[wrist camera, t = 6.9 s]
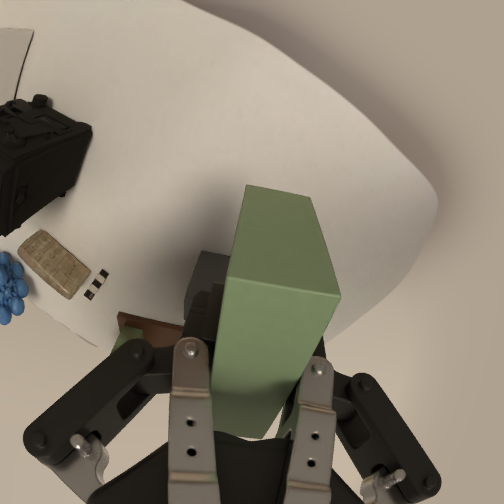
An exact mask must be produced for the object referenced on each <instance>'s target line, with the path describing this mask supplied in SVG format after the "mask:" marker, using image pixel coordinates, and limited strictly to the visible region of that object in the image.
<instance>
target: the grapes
mask: <svg viewBox="0 0 504 504" xmlns="http://www.w3.org/2000/svg"><path fill="white" fill-rule="evenodd" d="M22 275H23V268H22V266H21V265H20V264H19V263H18V262H13V263H11V264H10V257H9V255H8V254H6V253H5V252H2V253H0V324H2V325H7V324H8V323H9V322H10V321H11V318H12V314H11V312H12V313H13V314H14V315H16V316H19V315H21V314H22V313H23V312H24V308H25V307H24V301H23V299H22V298H24V297H26V296H27V294H28V284H27V282H26V281H25V280H24V279H21V277H22Z"/></svg>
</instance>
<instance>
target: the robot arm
mask: <svg viewBox="0 0 504 504" xmlns="http://www.w3.org/2000/svg"><path fill="white" fill-rule="evenodd" d="M224 287H225V284H224V283H219V282H213V285H212V288H211V292H208V291H203V290H200V291H199V292H198V293H197V294H196V295H195V296H194V298H193V301H192V304H191V307H190V310H189V313H188V317H187V320H186V323H185V326H184V330H183V333H182V336H181V338H180V340H178V341H177V342H176V343H175V344H173V345H171V346H167V347H152V345H151V344H150V343H149V342H148V341H146V340H143V339H138V338H136V339H130V340H128V341H126V342H125V343H124V344H122V345H121V346H120V347H119V348H118V349H116V350H115V351H114V352H113V353H112V354H111V355H110V356H108V357H107V358H106V359H105V360H104V361H102V362H101V363H100V364H99V365H98V366H97V367H95V368H94V369H93V370H92V371H91V372H90V373H89V374H87V375H86V376H85V377H84V378H83V379H82V380H81V381H79V382H78V383H77V384H76V385H75V386H73V387H72V388H71V389H70V390H69V391H68V392H67V393H66V394H64V395H63V396H62V397H61V398H60V399H58V400H57V401H56V402H55V403H54V404H53V405H52V406H50V407H49V408H48V409H47V410H46V411H45V412H44V413H43V414H41V415H40V416H39V417H38V418H37V419H36V420H35V421H33V422H32V423H31V424H30V425H29V426H28V427H27V428H26V430H25V431H24V434H23V442H24V446H25V448H26V449H27V451H28V452H29V453H30V454H31V455H33V456H34V457H35V458H37V459H38V460H39V461H40V462H41V463H42V464H44V465H45V466H47V467H48V468H50V469H51V470H52V471H53V472H54V473H55V474H56V475H57V476H58V477H59V478H60V479H61V480H62V481H63V482H64V483H65V484H66V485H67V486H68V487H69V488H70V489H71V490H72V491H73V492H74V493H75V494H76V495H77V496H78V497H79V498H80V499H82V500H83V501H84V502H85V503H86V504H415V503H418V502H420V501H423V500H426V499H428V498H430V497H433V496H434V495H436V494H437V493H438V491H439V490H440V488H441V477H440V474H439V473H438V471H437V470H436V468H435V467H434V465H433V463H432V462H431V460H430V459H429V458H428V456H427V454H426V453H425V451H424V450H423V448H422V447H421V445H420V444H419V443H418V441H417V439H416V438H415V436H414V435H413V433H412V432H411V430H410V429H409V427H408V426H407V424H406V423H405V422H404V420H403V419H402V417H401V416H400V414H399V413H398V411H397V410H396V408H395V407H394V406H393V404H392V403H391V401H390V400H389V398H388V397H387V395H386V394H385V392H384V391H383V390H382V388H381V387H380V385H379V384H378V383H377V381H376V380H375V379H374V378H373V377H372V376H371V375H369V374H366V373H357V374H355V375H354V376H353V377H349V376H346V375H343V374H341V373H338V372H336V371H335V370H334V369H333V366H332V364H331V363H330V362H329V361H328V360H327V359H326V354H325V347H324V340H323V335H322V337H321V339H320V341H319V343H318V345H317V347H316V349H315V351H314V353H313V354H312V356H311V358H310V360H309V362H308V364H307V365H306V367H305V369H304V371H303V373H302V374H301V376H300V378H299V380H298V382H297V383H296V385H295V387H294V388H293V390H292V392H291V394H290V395H289V397H288V399H287V400H286V402H285V404H284V405H283V410H282V415H281V420H280V424H279V428H278V432H277V434H276V437H275V438H272V439H266V440H259V441H247V440H244V439H242V438H239V437H236V436H233V435H231V434H228V433H225V432H221V431H215V430H213V415H212V397H211V392H210V386H209V373H211V372H212V365H213V358H214V351H215V344H216V338H217V331H218V325H219V318H220V312H221V306H222V299H223V293H224ZM161 393H170V402H169V431H168V433H169V434H168V442H166V443H165V444H164V445H162V446H161V447H159V448H158V449H157V450H155V451H154V452H153V453H151V454H150V455H148V456H147V457H145V458H144V459H142V460H141V461H139V462H138V463H137V464H135V465H134V466H132V467H131V468H129V469H128V470H127V471H125V472H123V473H122V474H120V475H119V476H117V477H115V478H114V479H112V480H111V481H109V482H107V483H106V484H105V483H104V480H103V472H104V470H105V468H106V466H107V465H108V462H109V454H108V452H107V450H106V449H105V447H106V446H107V444H109V442H110V441H111V440H112V439H113V438H114V437H115V436H116V435H117V434H118V433H119V432H120V431H121V430H122V429H123V428H124V427H125V426H126V425H127V424H128V423H129V422H130V421H131V420H132V419H133V418H134V417H135V416H136V415H137V414H138V413H139V411H140V410H141V409H142V408H143V407H144V406H145V405H146V404H147V403H148V402H149V401H150V400H151V399H152V398H153V397H154V396H155V395H156V394H161ZM335 432H336V434H337V436H338V438H339V439H340V441H341V442H342V444H343V446H344V448H345V450H346V451H347V453H348V455H349V456H350V458H351V460H352V462H353V463H354V465H355V467H356V468H357V470H358V472H359V473H360V475H361V477H362V479H363V481H362V484H361V489H360V494H361V495H362V496H363V501H362V500H361V499H360V498H359V497H358V496H357V495H356V494H355V493H354V491H352V489H351V488H350V487H349V486H348V485H347V484H346V483H345V482H344V481H343V480H342V479H341V477H340V476H339V475H338V474H337V473H336V472H335V471H334V470H333V468H332V459H333V451H334V441H335Z"/></svg>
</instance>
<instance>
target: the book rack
mask: <svg viewBox="0 0 504 504" xmlns="http://www.w3.org/2000/svg"><path fill="white" fill-rule="evenodd" d="M117 319H118V325H119V330H120V334H119V336H118V339H117V341H116V343H115V345H114V347H113V349H112V351H111V354H112V353H113V352H114V351H115V350H116V349H118V348H119V347H120V346H121V345H122V344H124V343H125V342H126V341H128V340H130V339H136V338H138V339H143V340H146V341H148V342H149V343H150V344H151V345H152V347H167V346H171V345H173V344H175V343H176V342H177V341H178V340H180V338H181V333H182V330H183V327H182V326H178V325H173V324H168V323H164V322H160V321H155V320H151V319H147V318H142V317H138V316H134V315H130V314H126V313H122V312H119V313H118V315H117ZM111 354H110V355H111ZM210 378H211V373H209V385H210Z"/></svg>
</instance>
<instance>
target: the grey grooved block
mask: <svg viewBox="0 0 504 504" xmlns="http://www.w3.org/2000/svg"><path fill="white" fill-rule="evenodd" d="M230 257H231V256H226V255H221V254H215V253H210V252H204V251H201V253H200V256H199V258H198V261H197V264H196V267H195V269H194V272H193V275H192V278H191V280H190V283H189V286H188V289H187V292H186V295H185V299H184V320H185V323H186V320H187V317H188V313H189V310H190V307H191V304H192V301H193V298H194V296H195V295H196V294H197V293H198V292H199V291H200V290H203V291H208V292H211V288H212V285H213V282H219V283H224V284H225V281H226V275H227V271H228V266H229V261H230ZM185 323H184V326H185ZM183 330H184V327H183ZM183 330H182V333H183ZM182 333H181V336H182Z"/></svg>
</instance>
